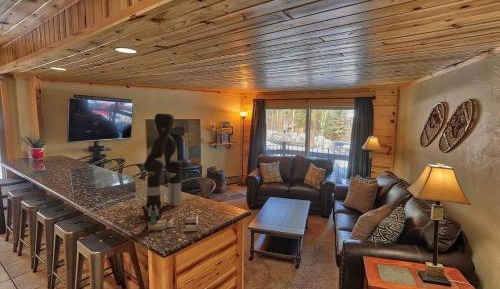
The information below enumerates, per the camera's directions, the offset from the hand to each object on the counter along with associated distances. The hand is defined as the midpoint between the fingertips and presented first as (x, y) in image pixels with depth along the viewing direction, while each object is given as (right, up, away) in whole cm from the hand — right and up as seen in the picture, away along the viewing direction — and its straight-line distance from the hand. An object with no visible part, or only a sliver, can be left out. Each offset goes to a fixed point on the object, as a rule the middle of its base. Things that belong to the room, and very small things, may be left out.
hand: (153, 221), depth 158 cm
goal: (+22, -5, +5) cm, 23 cm away
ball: (+9, -4, +2) cm, 10 cm away
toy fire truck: (-6, -3, +14) cm, 15 cm away
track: (+5, -4, +1) cm, 7 cm away
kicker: (+2, -4, +1) cm, 4 cm away
